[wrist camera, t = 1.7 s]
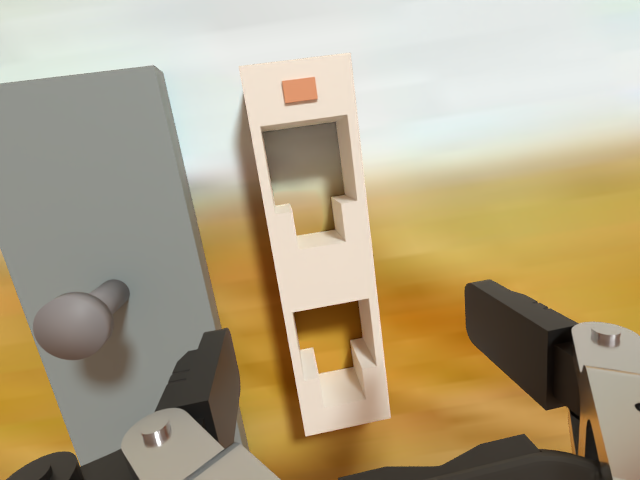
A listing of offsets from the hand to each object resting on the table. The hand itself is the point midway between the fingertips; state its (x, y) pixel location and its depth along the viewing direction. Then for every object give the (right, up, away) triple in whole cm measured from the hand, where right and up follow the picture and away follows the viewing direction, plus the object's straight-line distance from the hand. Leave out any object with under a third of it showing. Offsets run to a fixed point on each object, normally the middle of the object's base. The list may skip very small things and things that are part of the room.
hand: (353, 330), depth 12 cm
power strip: (-1, +3, +11) cm, 11 cm away
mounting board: (-13, -2, +11) cm, 17 cm away
